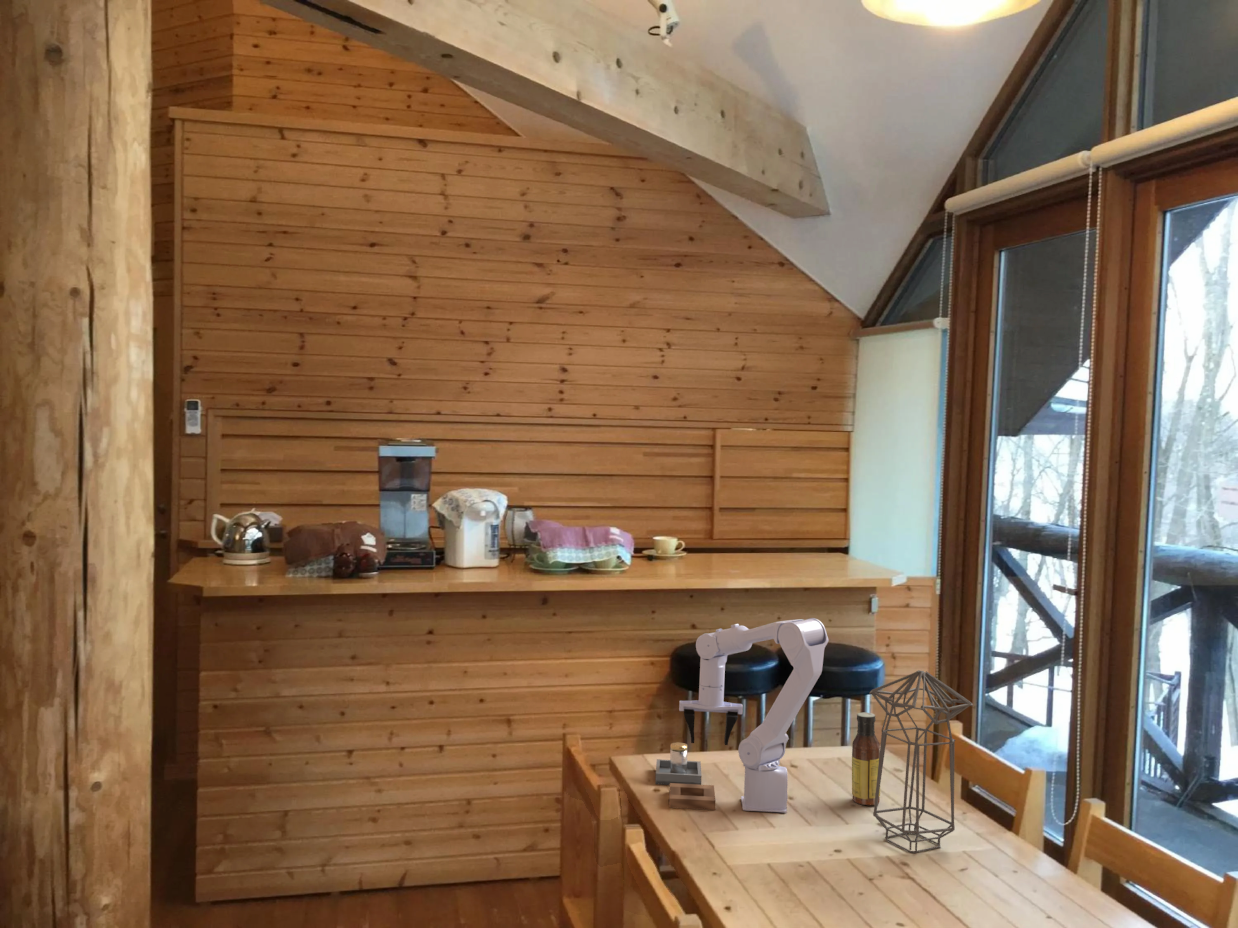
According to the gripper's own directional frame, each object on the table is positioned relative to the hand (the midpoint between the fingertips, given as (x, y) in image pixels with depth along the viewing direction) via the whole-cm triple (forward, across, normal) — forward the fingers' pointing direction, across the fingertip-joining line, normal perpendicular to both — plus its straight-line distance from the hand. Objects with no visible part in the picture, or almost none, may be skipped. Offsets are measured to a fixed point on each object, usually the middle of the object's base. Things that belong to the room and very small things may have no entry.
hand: (709, 742), depth 234 cm
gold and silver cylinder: (+10, +7, -6) cm, 13 cm away
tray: (+10, +7, -6) cm, 14 cm away
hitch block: (+10, +4, +9) cm, 14 cm away
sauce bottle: (+10, -35, +4) cm, 37 cm away
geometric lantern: (+10, -41, +26) cm, 50 cm away
